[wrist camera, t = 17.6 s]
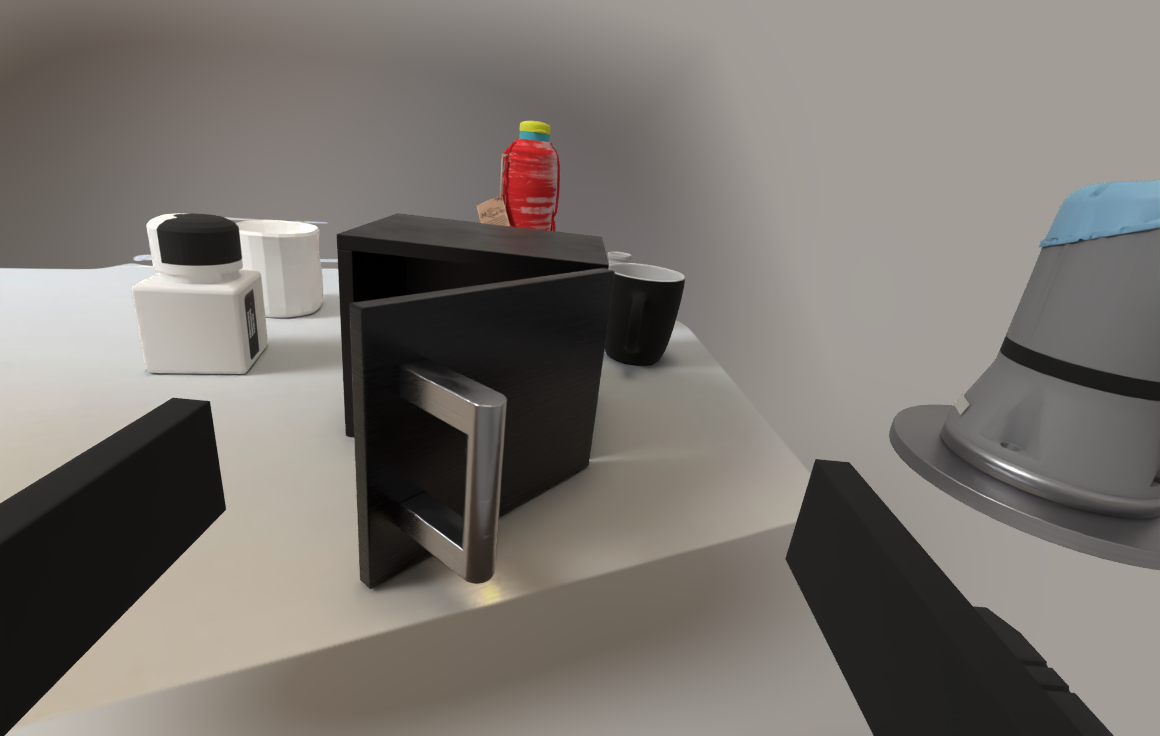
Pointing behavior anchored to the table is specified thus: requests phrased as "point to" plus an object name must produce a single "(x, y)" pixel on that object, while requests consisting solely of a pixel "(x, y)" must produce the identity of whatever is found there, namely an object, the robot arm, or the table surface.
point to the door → (469, 412)
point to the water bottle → (526, 182)
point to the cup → (284, 265)
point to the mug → (642, 312)
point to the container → (199, 299)
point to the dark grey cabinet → (445, 263)
